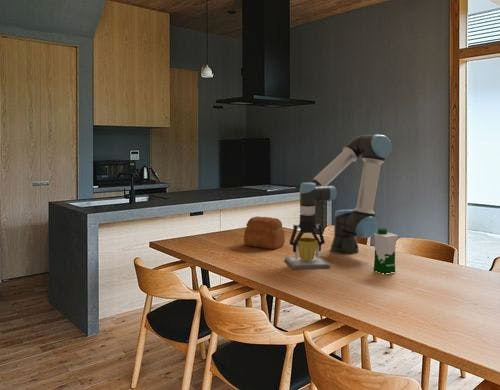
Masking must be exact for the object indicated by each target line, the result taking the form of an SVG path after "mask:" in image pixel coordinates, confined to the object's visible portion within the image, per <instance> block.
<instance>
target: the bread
mask: <svg viewBox="0 0 500 390" xmlns="http://www.w3.org/2000/svg"><path fill="white" fill-rule="evenodd" d="M285 237H286V236H285V230H284V228H283V223H282V221H281V220H280V219H279V218H277V217H274V218H273V217H269V216H253V217H251V218H249V220H248V221H247V223H246V228H245V229H244V233H243V242H244V245H245V246H248V247H254V248H263V249H270V250H275V249H279V248H281V247H283V246H284V244H285V241H286V240H285V239H286V238H285Z"/></svg>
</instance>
